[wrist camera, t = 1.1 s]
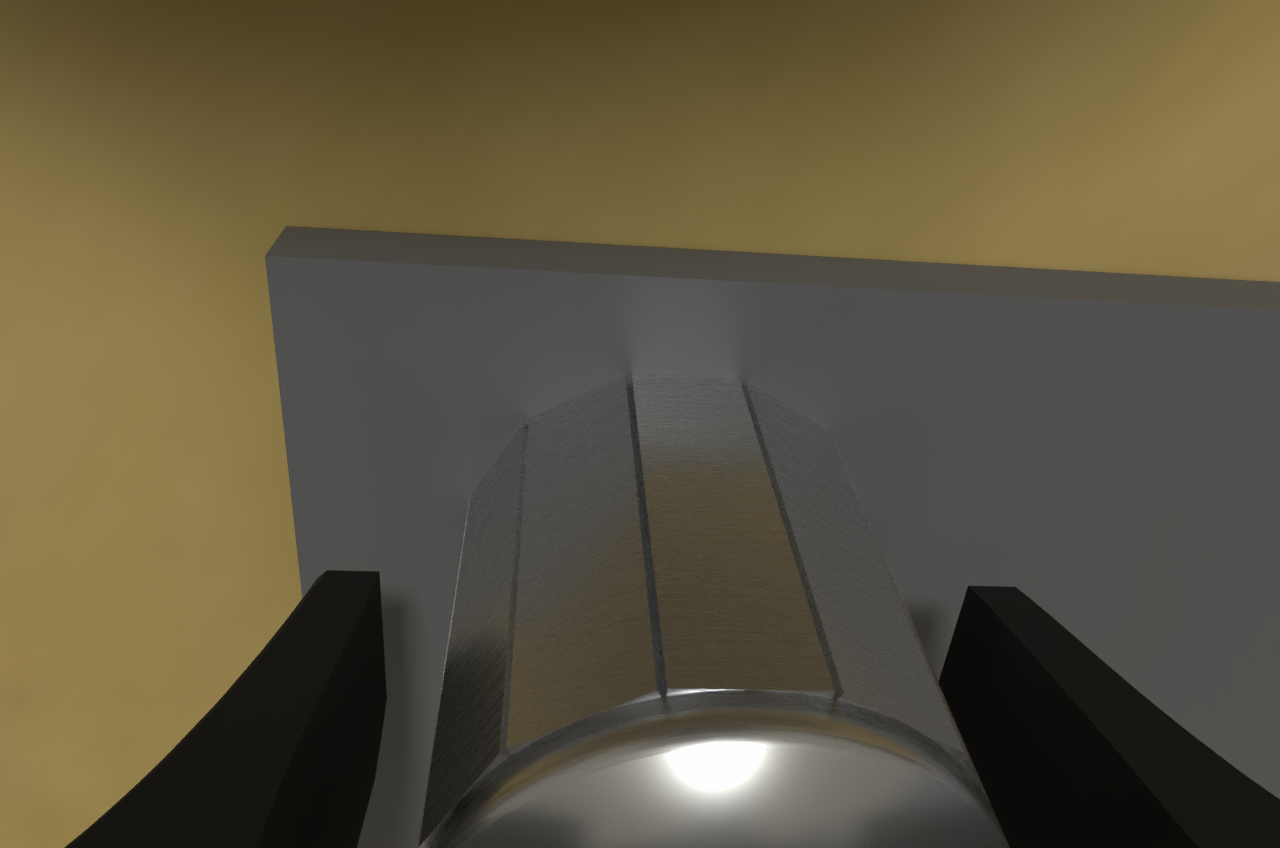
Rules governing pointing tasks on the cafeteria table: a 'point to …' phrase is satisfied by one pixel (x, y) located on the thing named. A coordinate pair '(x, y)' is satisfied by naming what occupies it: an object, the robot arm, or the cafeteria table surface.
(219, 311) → the cafeteria table surface
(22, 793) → the cafeteria table surface
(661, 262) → the base board
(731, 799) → the cylinder
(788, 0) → the cafeteria table surface
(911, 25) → the cafeteria table surface
